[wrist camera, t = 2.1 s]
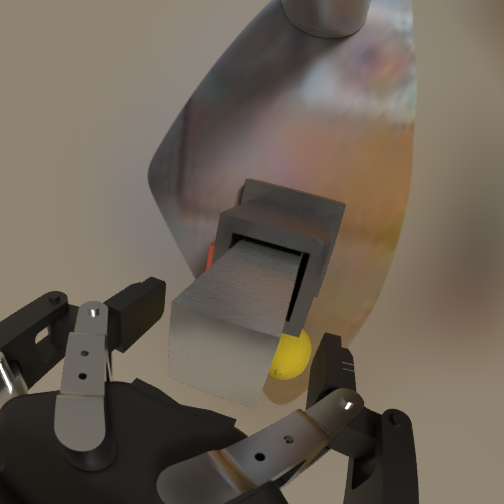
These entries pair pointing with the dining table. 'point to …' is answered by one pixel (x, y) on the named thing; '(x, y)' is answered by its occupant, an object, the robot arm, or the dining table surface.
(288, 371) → the lemon
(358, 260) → the dining table surface
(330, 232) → the stand base
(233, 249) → the column
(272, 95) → the dining table surface
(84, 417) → the robot arm
